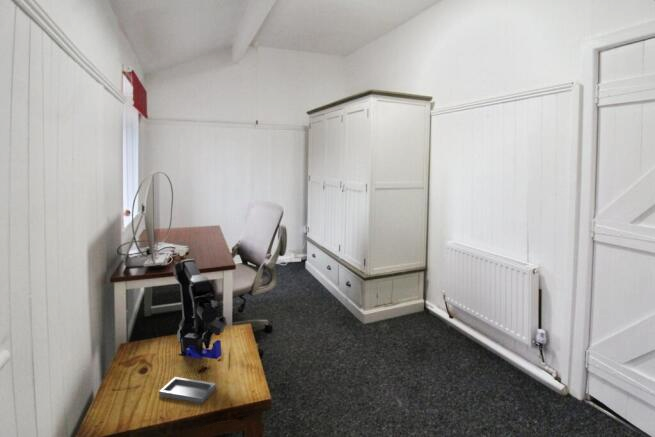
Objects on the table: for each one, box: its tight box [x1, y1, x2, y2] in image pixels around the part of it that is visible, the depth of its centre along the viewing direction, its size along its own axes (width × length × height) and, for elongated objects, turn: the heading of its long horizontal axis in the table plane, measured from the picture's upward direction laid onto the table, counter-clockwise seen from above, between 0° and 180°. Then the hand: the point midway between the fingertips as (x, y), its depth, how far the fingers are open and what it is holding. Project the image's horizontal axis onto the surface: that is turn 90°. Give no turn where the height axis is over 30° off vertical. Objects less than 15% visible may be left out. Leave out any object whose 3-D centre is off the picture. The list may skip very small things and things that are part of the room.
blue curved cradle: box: [186, 339, 222, 360], centre depth 139 cm, size 12×4×6 cm, turn 75°
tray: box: [158, 376, 217, 405], centre depth 133 cm, size 17×9×2 cm, turn 77°
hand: (203, 351), depth 139 cm, fingers closed on blue curved cradle, 5 cm apart
